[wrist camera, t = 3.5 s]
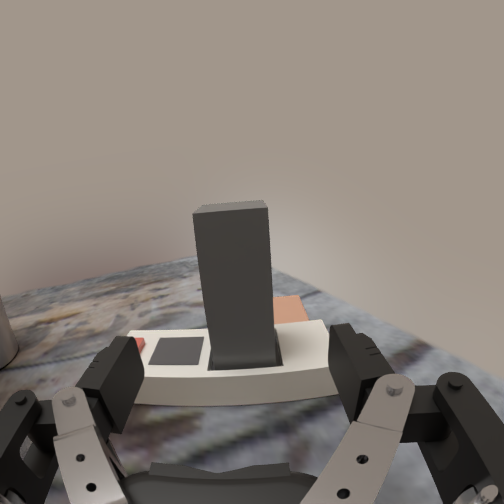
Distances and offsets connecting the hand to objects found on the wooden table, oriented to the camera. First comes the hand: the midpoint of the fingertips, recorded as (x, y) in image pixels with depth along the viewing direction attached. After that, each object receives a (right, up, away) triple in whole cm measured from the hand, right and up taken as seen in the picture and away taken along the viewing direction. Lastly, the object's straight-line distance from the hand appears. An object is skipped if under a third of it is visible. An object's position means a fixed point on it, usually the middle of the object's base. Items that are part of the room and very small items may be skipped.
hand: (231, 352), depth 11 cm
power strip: (0, -6, +12) cm, 14 cm away
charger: (0, -5, +11) cm, 12 cm away
